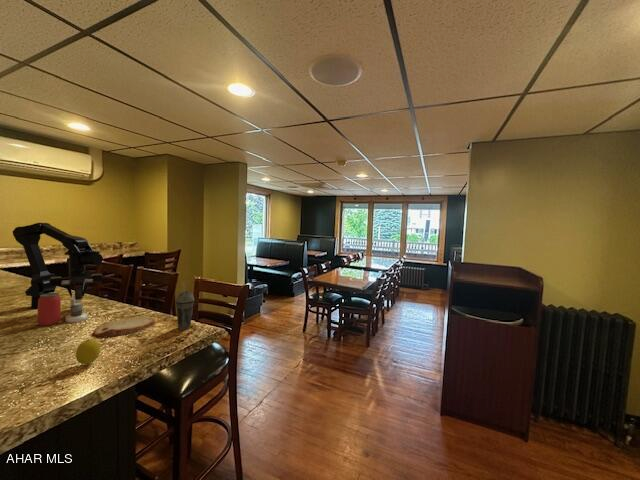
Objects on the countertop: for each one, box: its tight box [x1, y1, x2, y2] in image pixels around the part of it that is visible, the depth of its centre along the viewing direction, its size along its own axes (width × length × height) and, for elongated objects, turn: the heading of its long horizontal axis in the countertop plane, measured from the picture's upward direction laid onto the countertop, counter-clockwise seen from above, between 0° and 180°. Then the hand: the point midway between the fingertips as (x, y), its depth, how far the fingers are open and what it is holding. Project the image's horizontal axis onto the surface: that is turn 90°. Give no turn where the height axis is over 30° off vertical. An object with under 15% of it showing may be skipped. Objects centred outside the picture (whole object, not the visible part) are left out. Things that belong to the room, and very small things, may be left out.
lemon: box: [75, 338, 101, 366], centre depth 81 cm, size 6×6×8 cm
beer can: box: [37, 292, 62, 327], centre depth 110 cm, size 7×7×12 cm
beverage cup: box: [175, 281, 195, 331], centre depth 114 cm, size 7×7×20 cm
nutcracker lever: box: [69, 285, 84, 316], centre depth 122 cm, size 22×4×9 cm, turn 40°
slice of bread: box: [92, 315, 156, 339], centre depth 110 cm, size 18×18×4 cm
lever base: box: [65, 312, 88, 324], centre depth 115 cm, size 7×7×2 cm
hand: (77, 296), depth 128 cm, fingers open, 4 cm apart
